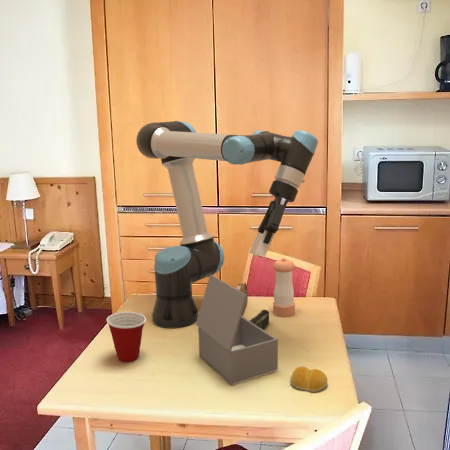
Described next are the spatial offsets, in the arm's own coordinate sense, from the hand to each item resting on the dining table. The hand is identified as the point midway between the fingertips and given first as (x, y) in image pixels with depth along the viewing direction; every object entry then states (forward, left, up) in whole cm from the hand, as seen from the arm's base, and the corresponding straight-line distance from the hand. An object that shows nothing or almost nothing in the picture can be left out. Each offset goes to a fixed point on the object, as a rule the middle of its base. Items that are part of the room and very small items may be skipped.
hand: (256, 254), depth 142 cm
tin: (-27, +10, -28) cm, 40 cm away
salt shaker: (-17, +21, -28) cm, 39 cm away
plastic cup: (-14, -34, -28) cm, 46 cm away
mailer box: (+5, -10, -28) cm, 30 cm away
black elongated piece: (-9, +6, -28) cm, 31 cm away
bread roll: (+23, 0, -28) cm, 37 cm away
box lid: (+5, -14, -12) cm, 19 cm away
